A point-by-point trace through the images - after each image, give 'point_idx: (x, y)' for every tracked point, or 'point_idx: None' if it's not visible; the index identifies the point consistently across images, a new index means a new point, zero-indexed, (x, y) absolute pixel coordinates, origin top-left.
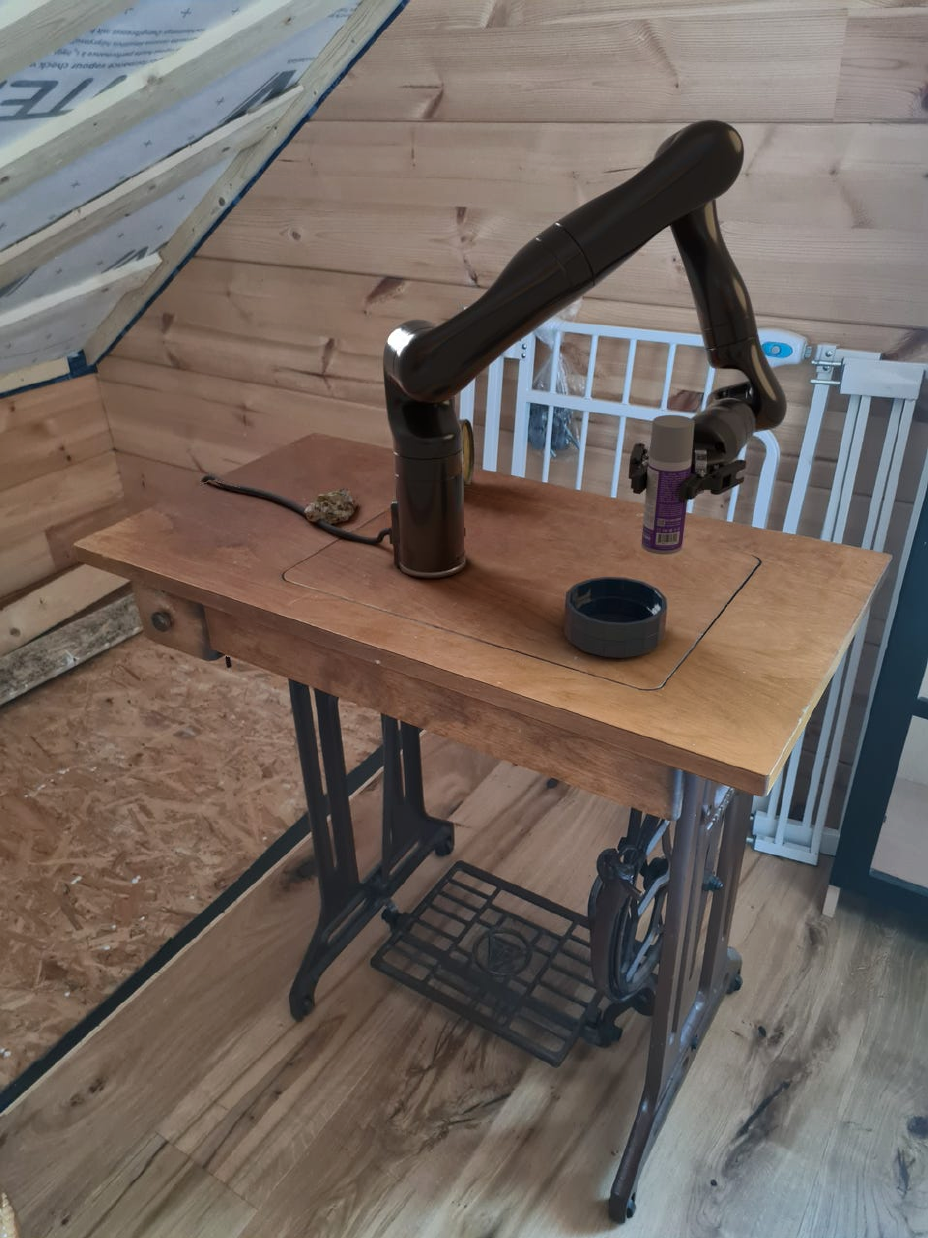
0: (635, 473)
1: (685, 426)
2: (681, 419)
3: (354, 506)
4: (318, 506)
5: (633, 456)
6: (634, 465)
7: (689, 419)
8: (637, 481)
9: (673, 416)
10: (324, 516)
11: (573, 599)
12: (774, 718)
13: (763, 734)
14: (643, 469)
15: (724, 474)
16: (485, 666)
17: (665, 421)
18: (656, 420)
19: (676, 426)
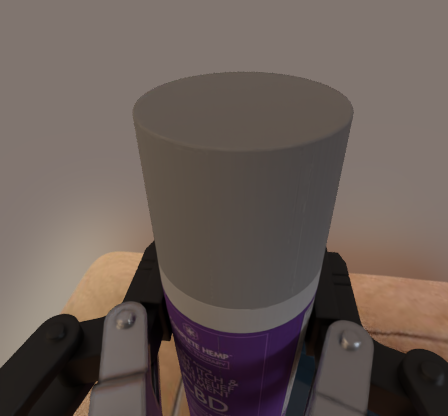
0: (342, 276)
1: (173, 83)
2: (207, 114)
3: None
4: None
5: (443, 372)
6: (401, 355)
7: (162, 124)
8: None
9: (268, 132)
10: None
11: (372, 412)
12: (78, 315)
13: (94, 289)
14: (326, 279)
15: (32, 339)
16: (379, 294)
17: (276, 91)
18: (322, 91)
19: (210, 77)
